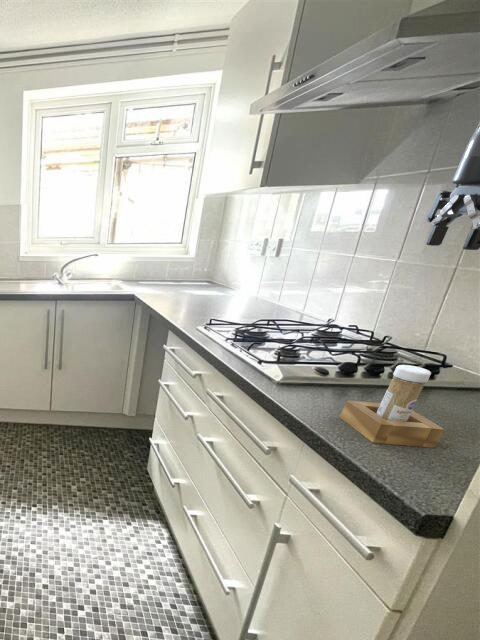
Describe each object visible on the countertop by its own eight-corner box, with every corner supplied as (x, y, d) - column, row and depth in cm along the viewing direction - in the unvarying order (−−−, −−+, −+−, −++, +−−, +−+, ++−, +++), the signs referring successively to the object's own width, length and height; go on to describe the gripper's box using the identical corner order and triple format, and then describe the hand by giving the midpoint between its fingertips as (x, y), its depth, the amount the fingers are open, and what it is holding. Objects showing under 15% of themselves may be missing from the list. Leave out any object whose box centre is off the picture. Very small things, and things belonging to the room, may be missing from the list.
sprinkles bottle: (395, 440, 79) (427, 375, 73) (364, 429, 82) (393, 366, 77) (403, 433, 81) (435, 370, 75) (373, 423, 84) (402, 362, 79)
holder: (394, 421, 85) (402, 404, 84) (434, 448, 76) (445, 429, 75) (339, 417, 87) (346, 400, 85) (372, 442, 78) (381, 424, 76)
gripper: (560, 150, 69) (508, 252, 75) (480, 157, 82) (442, 244, 88) (506, 151, 70) (460, 251, 77) (436, 158, 83) (401, 243, 89)
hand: (450, 247), depth 82 cm, fingers open, 8 cm apart
